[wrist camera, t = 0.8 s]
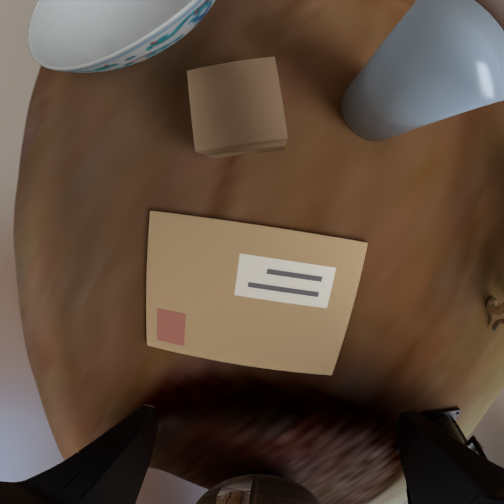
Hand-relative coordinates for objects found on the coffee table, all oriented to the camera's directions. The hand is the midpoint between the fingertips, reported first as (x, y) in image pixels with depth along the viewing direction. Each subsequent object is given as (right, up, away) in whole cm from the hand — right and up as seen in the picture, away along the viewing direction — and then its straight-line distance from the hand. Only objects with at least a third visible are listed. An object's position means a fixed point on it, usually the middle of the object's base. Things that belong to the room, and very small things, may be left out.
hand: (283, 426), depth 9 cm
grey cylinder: (+8, +16, +9) cm, 20 cm away
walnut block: (-2, +15, +10) cm, 19 cm away
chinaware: (-9, +25, +9) cm, 28 cm away
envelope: (-1, +2, +13) cm, 13 cm away
